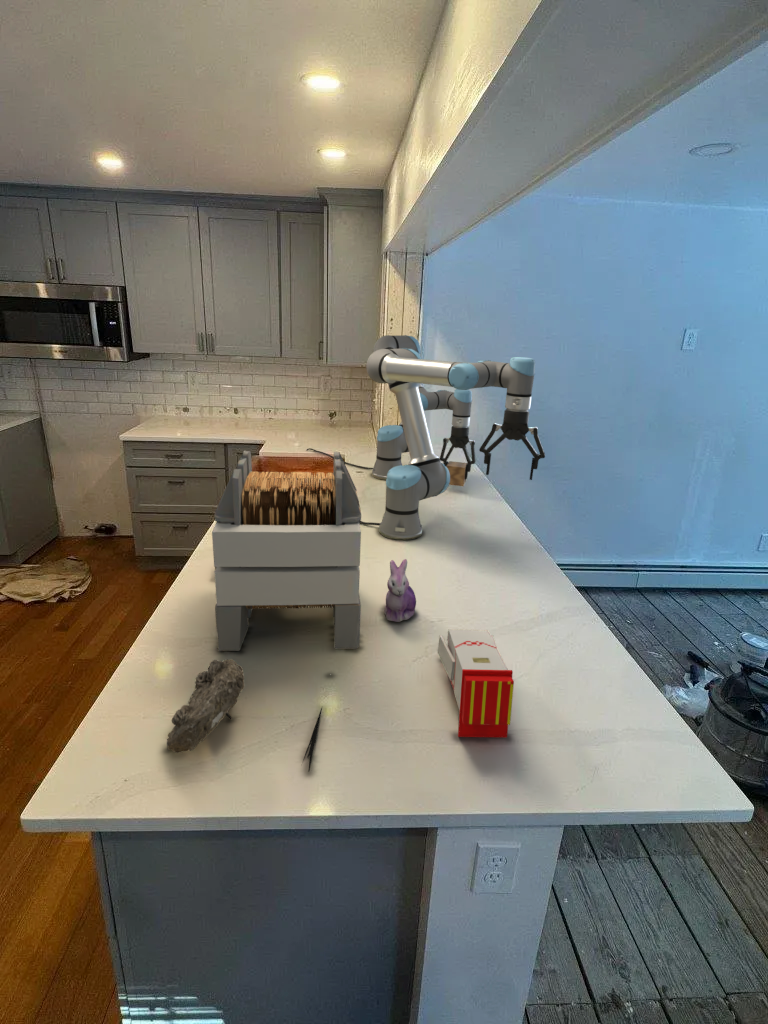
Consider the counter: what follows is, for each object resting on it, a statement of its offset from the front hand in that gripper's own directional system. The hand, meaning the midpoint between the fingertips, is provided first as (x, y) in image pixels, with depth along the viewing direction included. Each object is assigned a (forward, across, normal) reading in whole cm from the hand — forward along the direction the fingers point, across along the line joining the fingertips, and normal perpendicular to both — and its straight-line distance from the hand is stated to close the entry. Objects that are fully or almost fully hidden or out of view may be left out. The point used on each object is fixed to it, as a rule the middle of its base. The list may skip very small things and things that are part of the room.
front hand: (509, 476), depth 181 cm
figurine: (+26, -22, -52) cm, 62 cm away
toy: (+26, 0, -78) cm, 82 cm away
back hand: (+20, -25, +61) cm, 69 cm away
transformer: (+26, -48, -62) cm, 82 cm away
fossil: (+26, -46, -102) cm, 115 cm away
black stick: (+26, -27, -96) cm, 103 cm away
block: (+22, -25, +61) cm, 69 cm away
